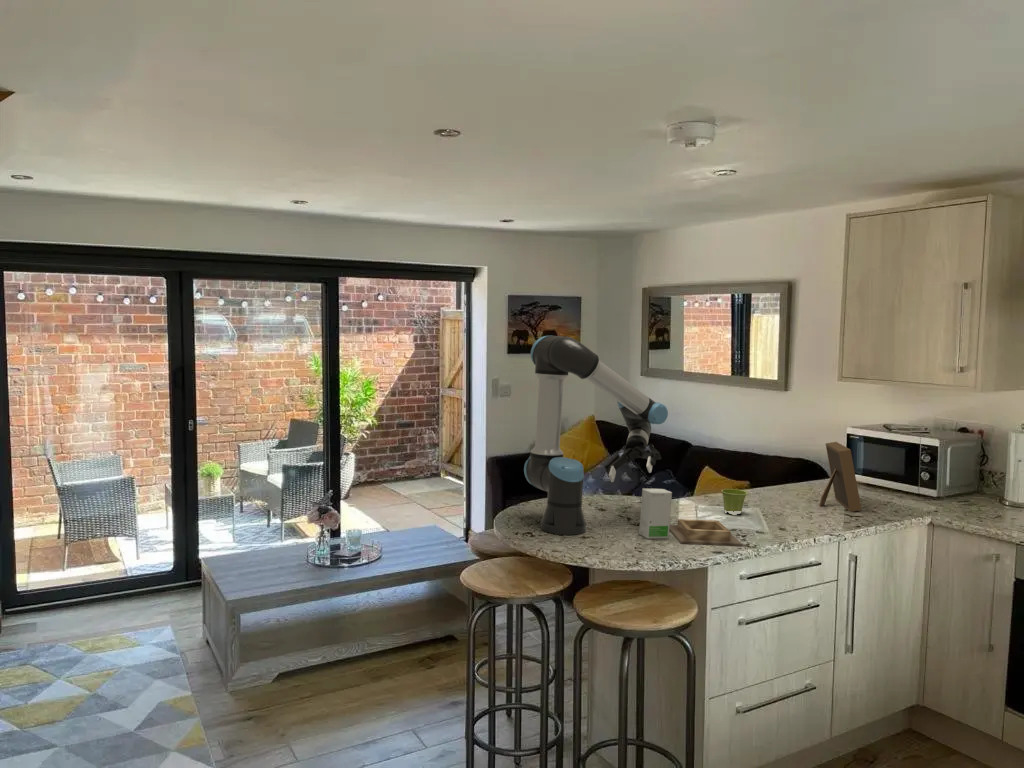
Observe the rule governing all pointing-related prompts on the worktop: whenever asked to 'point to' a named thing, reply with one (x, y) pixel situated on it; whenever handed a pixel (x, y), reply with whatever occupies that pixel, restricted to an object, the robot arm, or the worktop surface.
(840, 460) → the photo frame
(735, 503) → the plant pot
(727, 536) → the socket board
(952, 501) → the worktop surface
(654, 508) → the skincare box
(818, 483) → the worktop surface
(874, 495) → the worktop surface
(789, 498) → the worktop surface
